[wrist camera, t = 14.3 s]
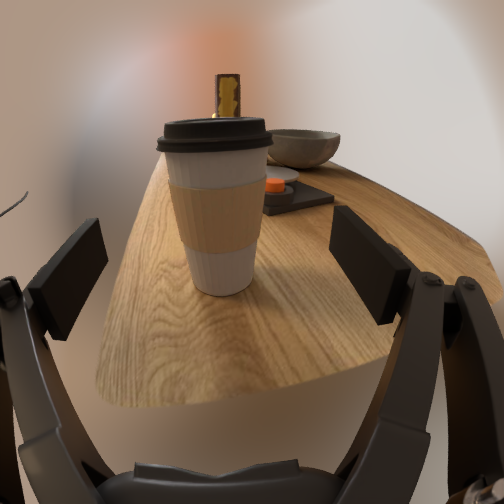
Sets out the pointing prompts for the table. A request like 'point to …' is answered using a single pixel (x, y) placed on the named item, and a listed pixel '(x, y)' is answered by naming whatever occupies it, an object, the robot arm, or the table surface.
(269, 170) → the scale pan
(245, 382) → the table surface
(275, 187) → the tare button
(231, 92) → the book
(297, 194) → the scale
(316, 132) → the bowl
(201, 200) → the coffee cup
